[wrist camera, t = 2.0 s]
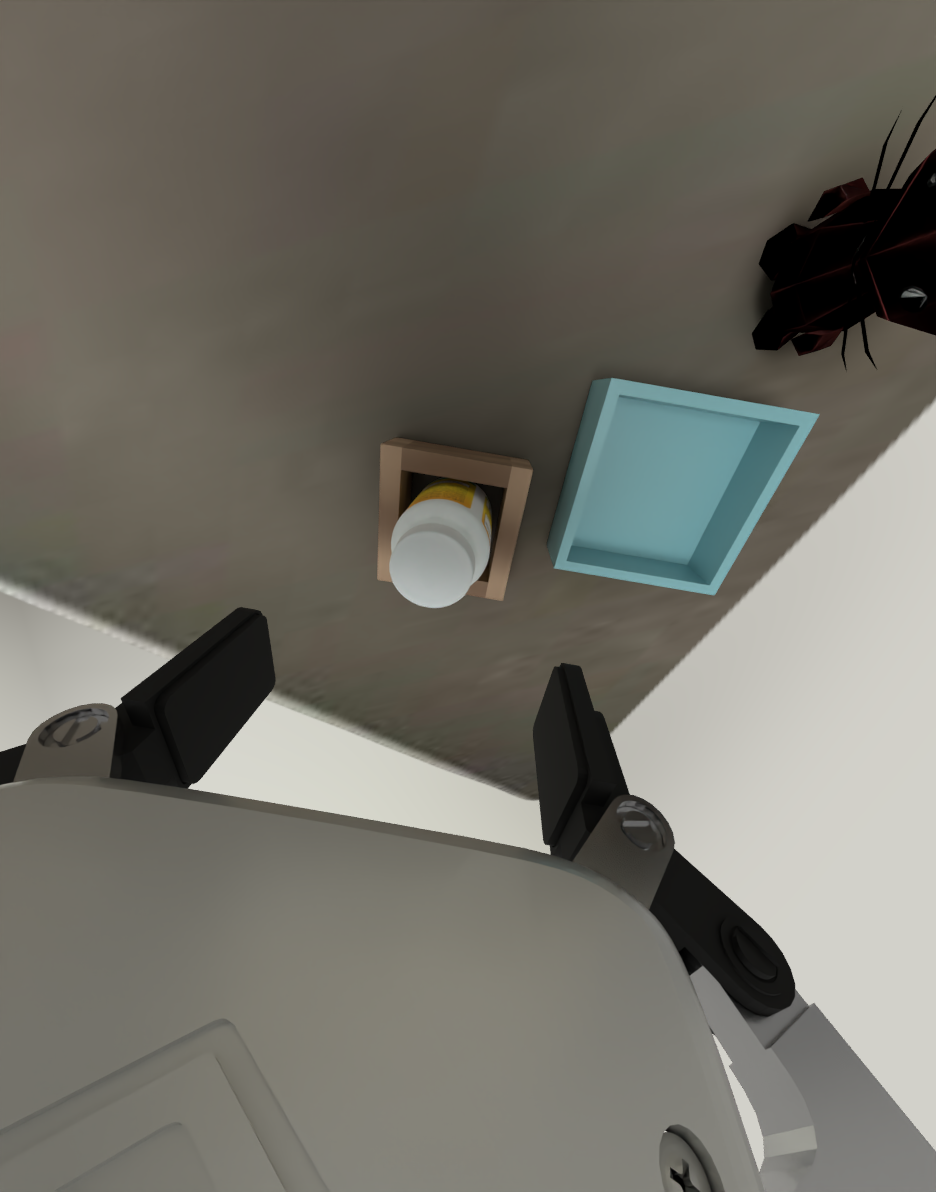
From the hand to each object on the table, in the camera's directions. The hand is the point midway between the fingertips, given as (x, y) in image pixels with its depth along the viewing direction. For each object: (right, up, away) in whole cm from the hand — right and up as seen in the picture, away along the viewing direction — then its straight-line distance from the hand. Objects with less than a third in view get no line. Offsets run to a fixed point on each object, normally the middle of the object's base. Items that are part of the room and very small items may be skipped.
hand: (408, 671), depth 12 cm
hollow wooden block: (+1, +8, +13) cm, 16 cm away
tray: (+13, +10, +12) cm, 20 cm away
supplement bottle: (+1, +8, +14) cm, 16 cm away
